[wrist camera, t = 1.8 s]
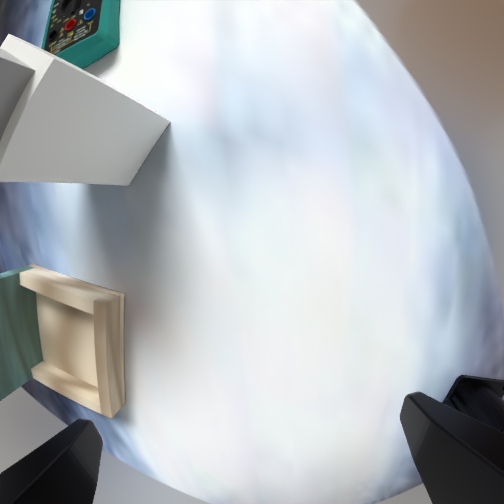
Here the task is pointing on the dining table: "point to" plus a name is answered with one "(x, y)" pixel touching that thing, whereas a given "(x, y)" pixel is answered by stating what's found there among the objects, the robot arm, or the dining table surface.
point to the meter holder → (62, 337)
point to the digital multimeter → (82, 30)
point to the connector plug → (68, 122)
